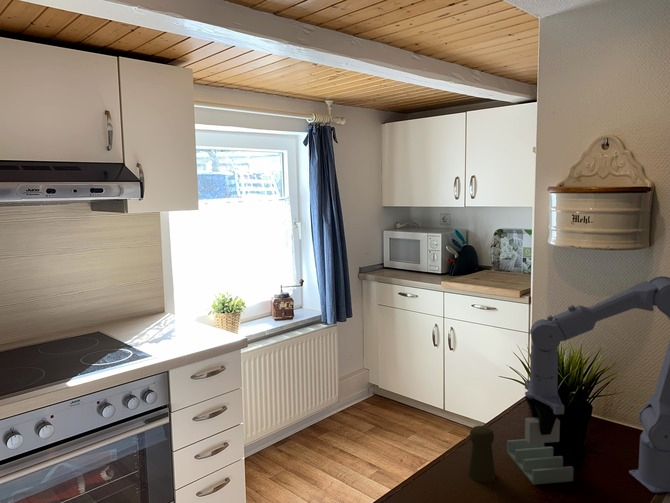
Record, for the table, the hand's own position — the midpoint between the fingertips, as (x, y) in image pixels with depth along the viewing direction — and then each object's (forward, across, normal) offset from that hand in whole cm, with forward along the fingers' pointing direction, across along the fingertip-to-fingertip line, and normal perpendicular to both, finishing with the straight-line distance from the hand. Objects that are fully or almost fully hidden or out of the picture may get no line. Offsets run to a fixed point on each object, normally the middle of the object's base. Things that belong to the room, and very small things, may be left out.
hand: (542, 430), depth 118 cm
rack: (+8, 0, -1) cm, 9 cm away
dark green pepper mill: (+9, +2, -15) cm, 17 cm away
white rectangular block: (+2, 0, 0) cm, 2 cm away
